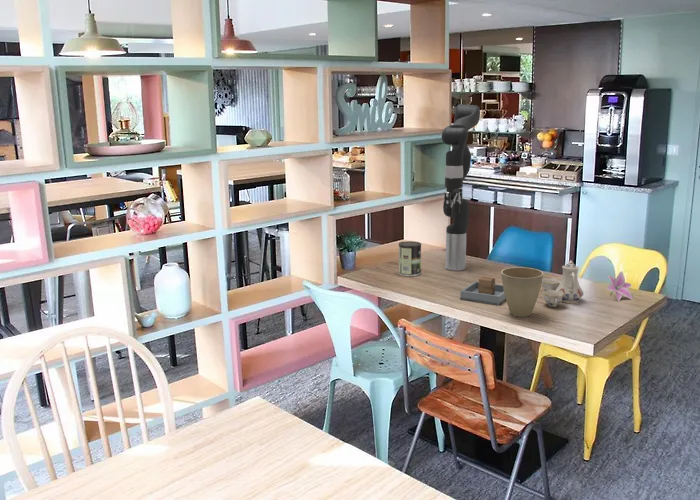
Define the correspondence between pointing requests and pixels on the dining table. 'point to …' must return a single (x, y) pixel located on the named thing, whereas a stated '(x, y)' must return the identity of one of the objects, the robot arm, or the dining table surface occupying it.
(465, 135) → the robot arm
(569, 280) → the chinaware
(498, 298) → the grey tray
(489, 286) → the walnut block
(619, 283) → the lily
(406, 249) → the coffee can
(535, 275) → the plant pot
